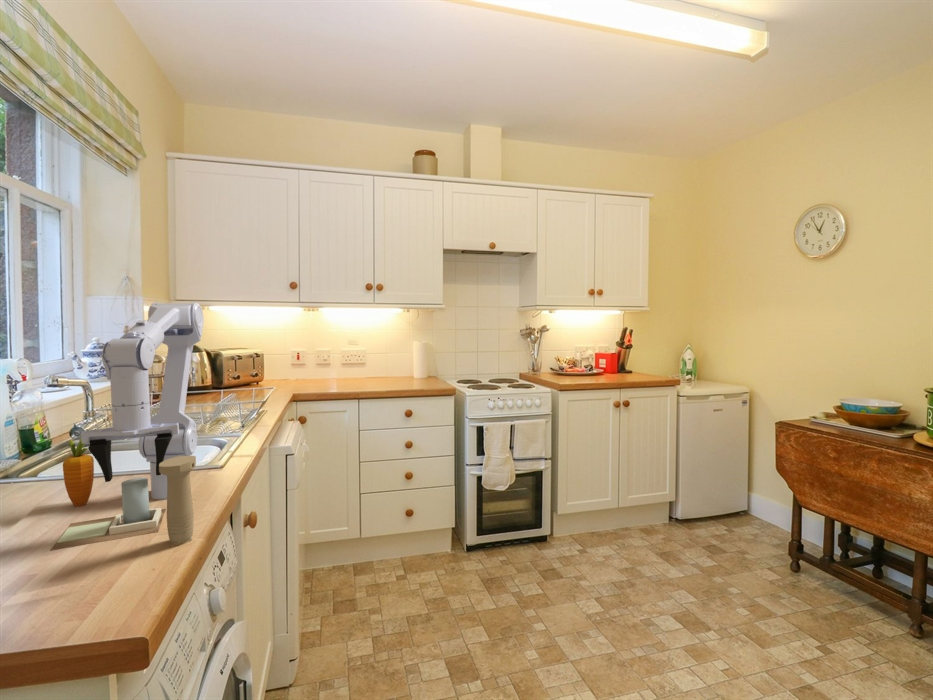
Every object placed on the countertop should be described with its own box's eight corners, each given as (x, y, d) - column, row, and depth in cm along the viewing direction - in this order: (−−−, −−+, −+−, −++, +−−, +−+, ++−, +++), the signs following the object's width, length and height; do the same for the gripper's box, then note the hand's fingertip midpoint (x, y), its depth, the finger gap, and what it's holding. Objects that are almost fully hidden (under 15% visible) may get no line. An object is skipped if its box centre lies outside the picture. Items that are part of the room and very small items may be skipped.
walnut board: (71, 529, 89) (71, 523, 89) (166, 514, 96) (165, 508, 96) (50, 557, 78) (49, 550, 78) (158, 538, 85) (158, 531, 85)
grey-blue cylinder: (125, 521, 89) (123, 479, 89) (151, 517, 91) (149, 476, 91) (121, 530, 86) (119, 486, 85) (148, 525, 88) (146, 482, 87)
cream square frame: (117, 520, 90) (117, 514, 90) (161, 513, 93) (161, 507, 93) (109, 534, 84) (109, 528, 84) (156, 527, 87) (156, 520, 87)
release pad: (68, 528, 87) (68, 527, 87) (112, 521, 90) (112, 520, 90) (57, 543, 81) (57, 542, 81) (104, 535, 84) (104, 534, 84)
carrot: (63, 510, 98) (59, 438, 98) (93, 503, 102) (89, 434, 101) (67, 517, 95) (63, 442, 94) (98, 509, 99) (94, 438, 98)
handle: (204, 538, 85) (201, 455, 84) (187, 555, 79) (183, 466, 78) (176, 539, 84) (172, 456, 84) (156, 557, 78) (152, 467, 77)
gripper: (74, 410, 81) (79, 490, 81) (175, 403, 87) (178, 477, 88) (85, 404, 87) (89, 478, 88) (178, 398, 93) (181, 467, 94)
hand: (134, 477), depth 88 cm, fingers open, 7 cm apart
